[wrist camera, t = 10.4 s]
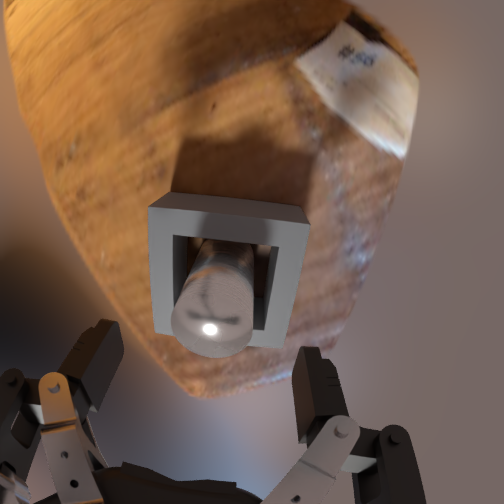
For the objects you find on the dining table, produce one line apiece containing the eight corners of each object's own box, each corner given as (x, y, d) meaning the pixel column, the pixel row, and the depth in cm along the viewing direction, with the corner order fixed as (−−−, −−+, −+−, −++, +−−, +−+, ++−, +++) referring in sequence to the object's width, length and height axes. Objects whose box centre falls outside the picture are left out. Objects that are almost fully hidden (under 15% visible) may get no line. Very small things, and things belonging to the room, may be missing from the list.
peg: (200, 229, 19) (168, 288, 12) (257, 235, 19) (258, 299, 12) (198, 278, 21) (172, 351, 14) (250, 284, 21) (247, 361, 14)
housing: (168, 191, 18) (148, 206, 14) (299, 206, 18) (310, 224, 15) (169, 301, 22) (155, 332, 18) (278, 315, 22) (282, 348, 18)
